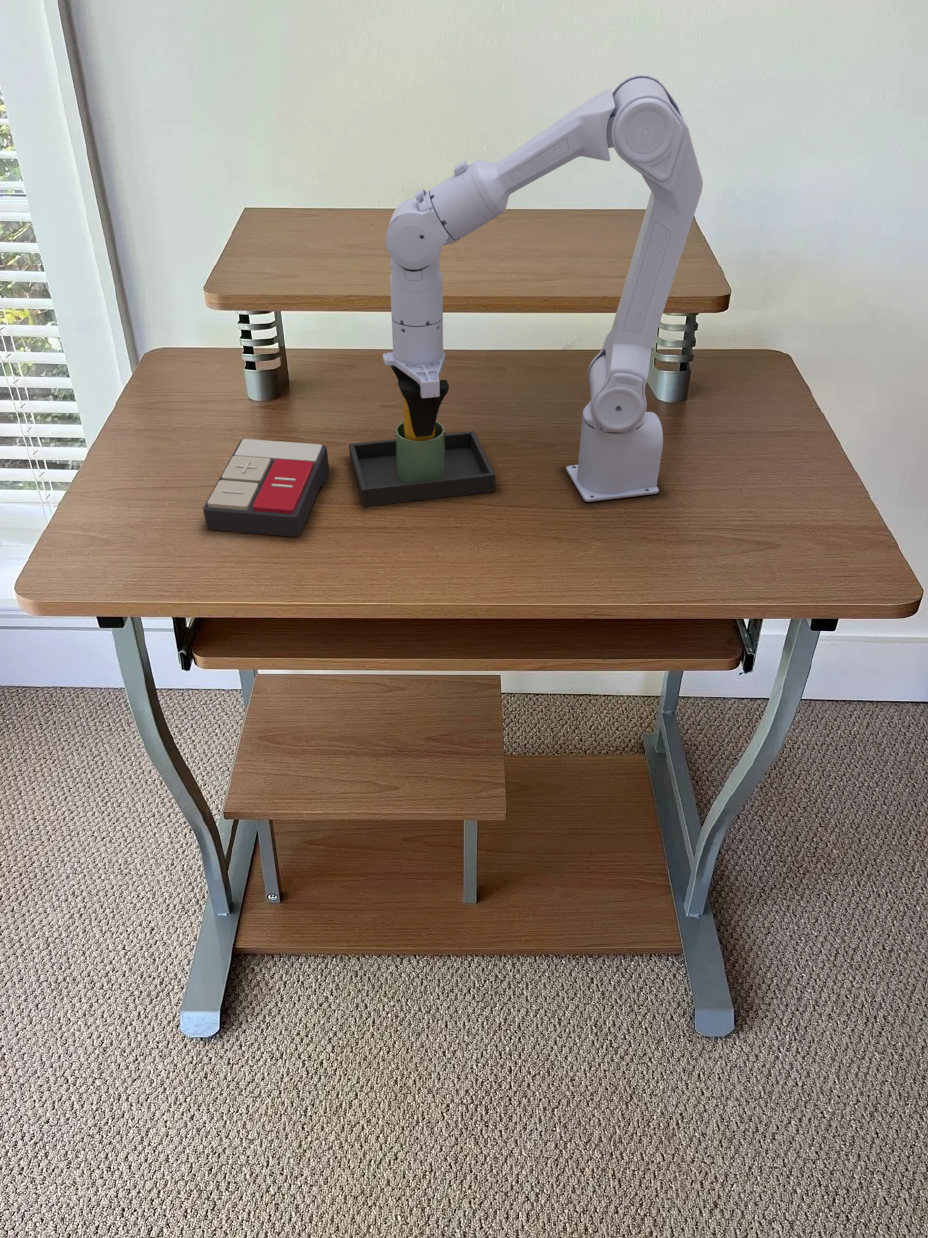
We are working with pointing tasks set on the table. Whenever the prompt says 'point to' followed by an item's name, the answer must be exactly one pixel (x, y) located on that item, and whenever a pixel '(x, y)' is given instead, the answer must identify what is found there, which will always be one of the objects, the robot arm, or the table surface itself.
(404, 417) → the mustard cup
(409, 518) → the table surface
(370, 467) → the tray
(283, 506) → the calculator
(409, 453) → the green cup
